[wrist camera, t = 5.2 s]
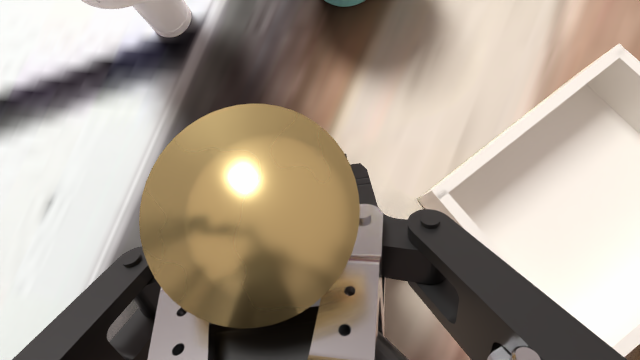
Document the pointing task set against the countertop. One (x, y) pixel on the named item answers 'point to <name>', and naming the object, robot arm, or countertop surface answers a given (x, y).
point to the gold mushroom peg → (249, 215)
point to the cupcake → (344, 2)
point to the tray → (565, 197)
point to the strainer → (155, 13)
